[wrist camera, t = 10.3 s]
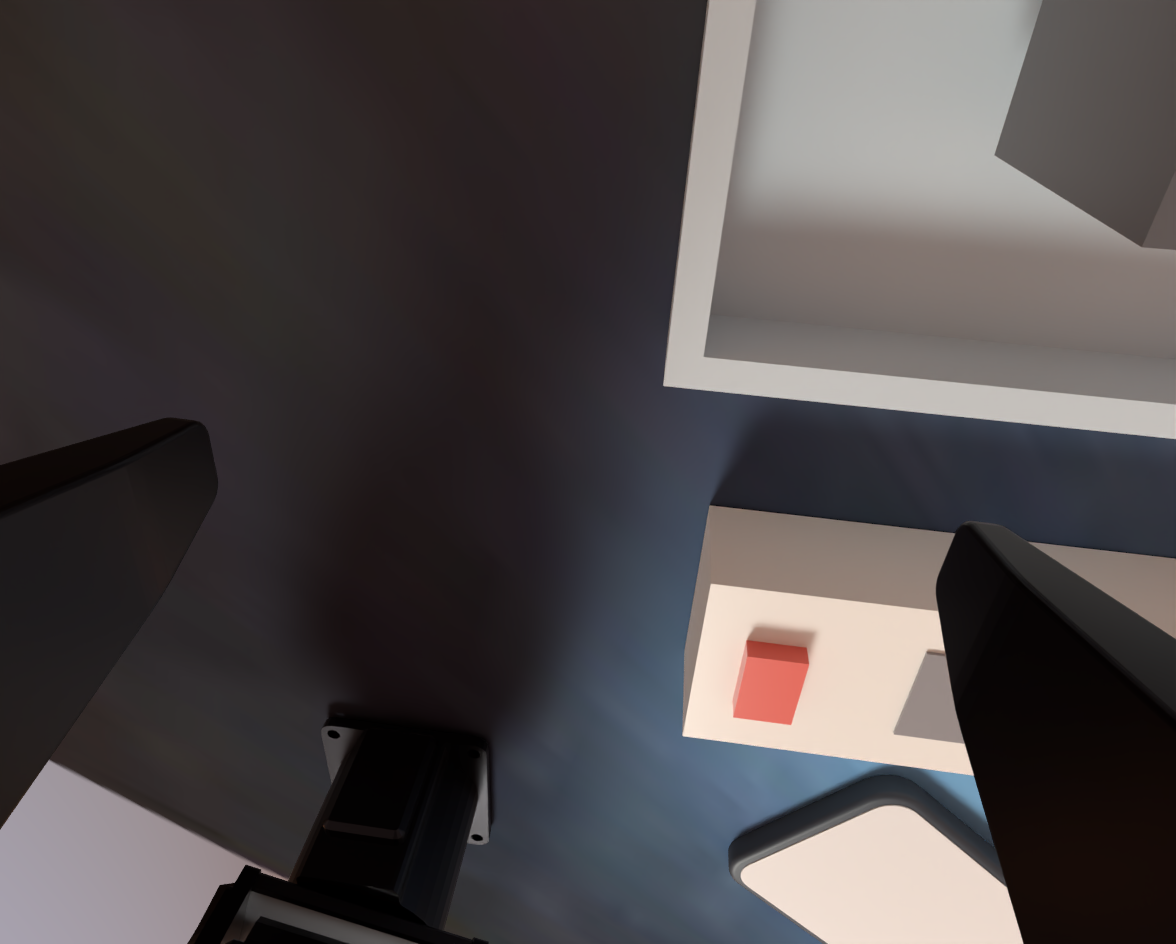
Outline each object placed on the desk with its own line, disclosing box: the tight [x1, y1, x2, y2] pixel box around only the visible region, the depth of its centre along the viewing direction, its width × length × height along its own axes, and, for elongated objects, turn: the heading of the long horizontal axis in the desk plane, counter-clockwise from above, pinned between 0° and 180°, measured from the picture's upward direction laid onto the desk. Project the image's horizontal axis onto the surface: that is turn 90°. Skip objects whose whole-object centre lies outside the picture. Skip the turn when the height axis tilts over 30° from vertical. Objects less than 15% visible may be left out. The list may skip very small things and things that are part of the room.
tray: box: [663, 0, 1176, 439], centre depth 14 cm, size 16×16×3 cm
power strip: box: [683, 505, 1176, 775], centre depth 22 cm, size 27×6×4 cm, turn 87°
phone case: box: [728, 775, 1023, 944], centre depth 32 cm, size 9×2×16 cm
